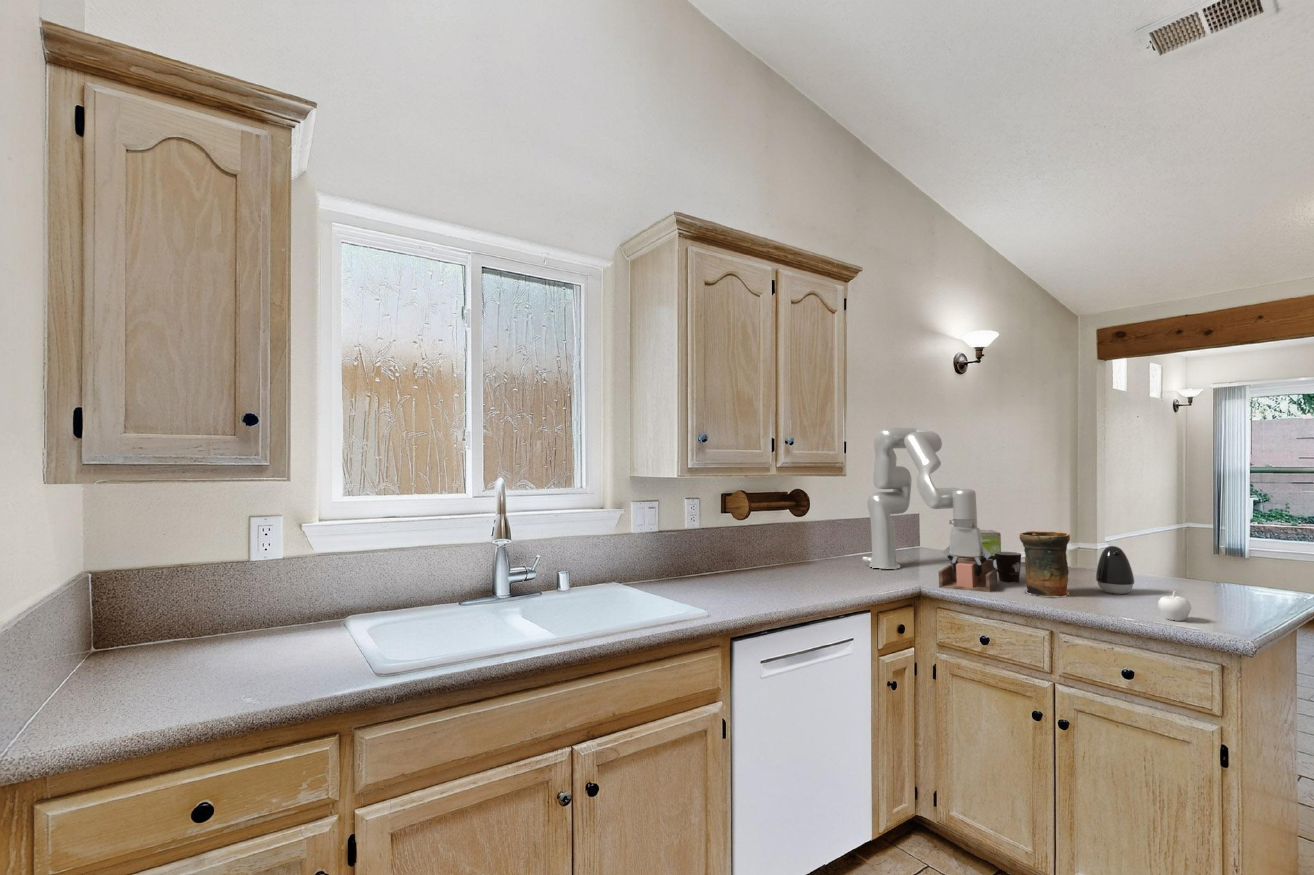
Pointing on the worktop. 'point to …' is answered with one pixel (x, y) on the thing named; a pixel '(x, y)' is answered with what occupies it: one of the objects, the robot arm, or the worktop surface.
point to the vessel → (1046, 562)
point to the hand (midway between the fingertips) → (967, 574)
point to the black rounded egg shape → (1114, 571)
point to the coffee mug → (1008, 566)
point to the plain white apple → (1174, 607)
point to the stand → (985, 579)
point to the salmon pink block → (966, 574)
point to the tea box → (990, 544)
